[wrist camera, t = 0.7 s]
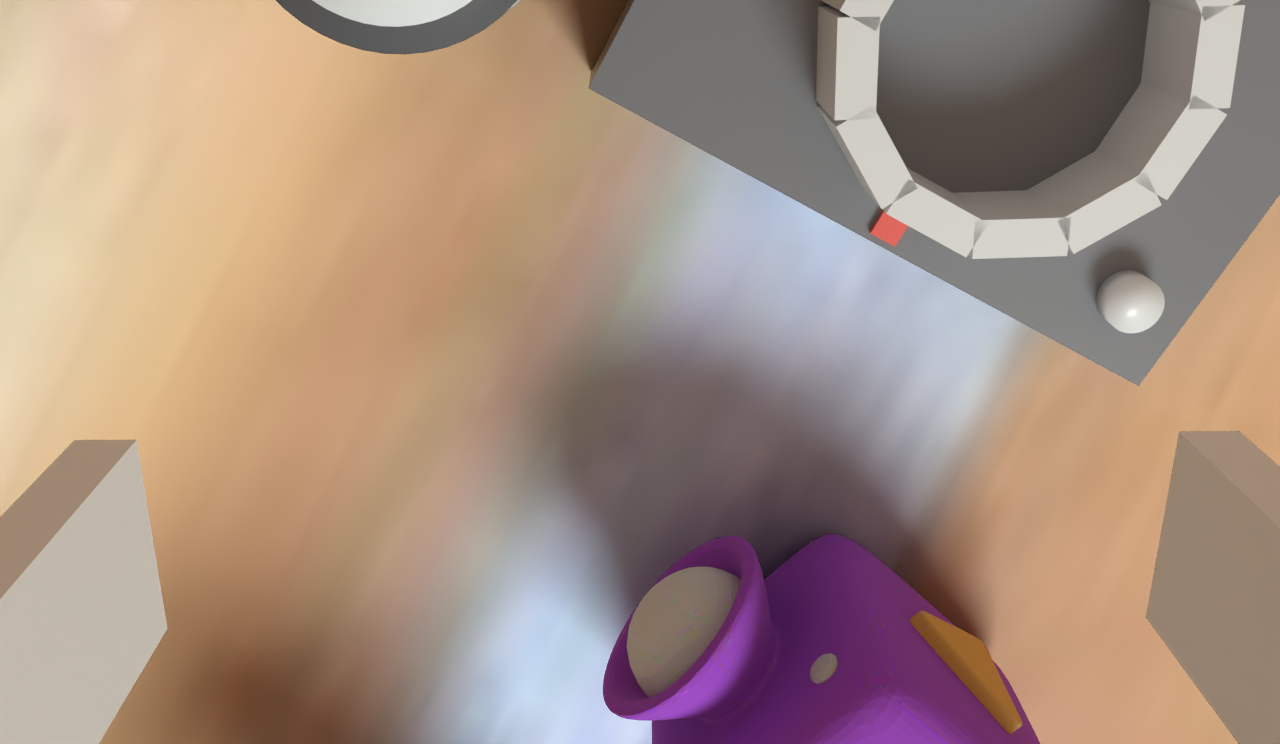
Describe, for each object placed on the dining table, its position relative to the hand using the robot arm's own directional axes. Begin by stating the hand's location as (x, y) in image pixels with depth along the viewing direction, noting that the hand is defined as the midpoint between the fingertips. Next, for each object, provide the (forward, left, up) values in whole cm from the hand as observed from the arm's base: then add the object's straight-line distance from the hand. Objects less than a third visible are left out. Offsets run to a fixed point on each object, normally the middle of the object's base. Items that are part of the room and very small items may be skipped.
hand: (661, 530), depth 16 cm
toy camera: (+13, -12, -22) cm, 28 cm away
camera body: (+7, +8, -22) cm, 24 cm away
